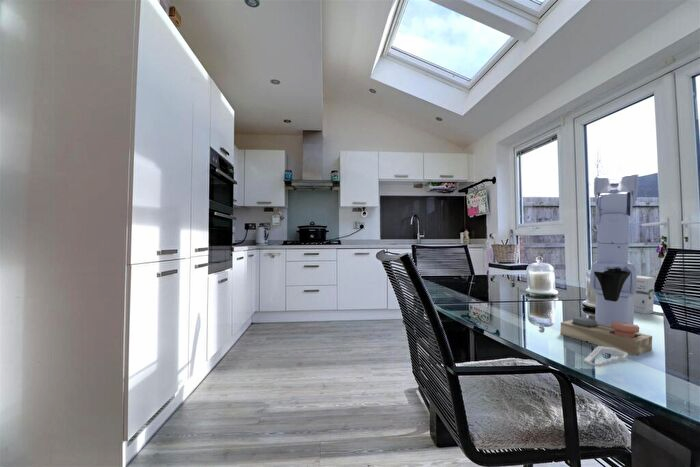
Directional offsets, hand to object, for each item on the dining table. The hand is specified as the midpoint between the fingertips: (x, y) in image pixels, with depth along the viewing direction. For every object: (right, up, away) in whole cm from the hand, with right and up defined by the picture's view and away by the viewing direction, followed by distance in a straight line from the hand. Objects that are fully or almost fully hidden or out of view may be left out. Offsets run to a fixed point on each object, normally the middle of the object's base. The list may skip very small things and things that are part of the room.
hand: (610, 300), depth 73 cm
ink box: (+34, -10, +31) cm, 48 cm away
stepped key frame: (-9, -11, -10) cm, 17 cm away
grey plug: (-3, -9, +4) cm, 11 cm away
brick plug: (+1, -9, -3) cm, 9 cm away
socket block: (-1, -10, +1) cm, 10 cm away
